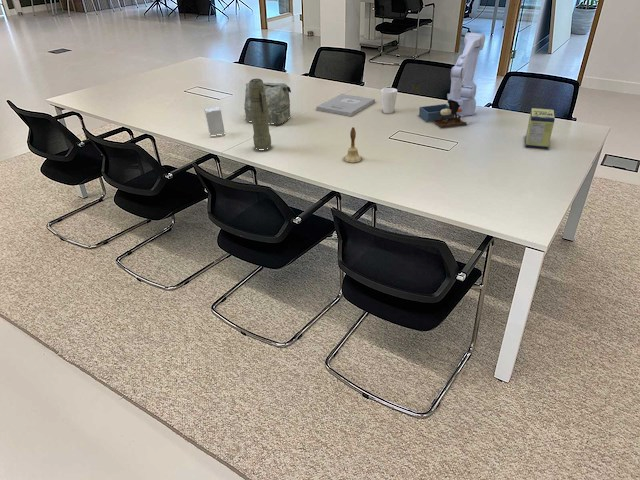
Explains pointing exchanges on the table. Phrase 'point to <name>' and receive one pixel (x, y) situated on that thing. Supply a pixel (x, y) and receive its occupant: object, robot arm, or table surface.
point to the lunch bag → (272, 102)
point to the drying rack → (449, 122)
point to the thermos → (259, 115)
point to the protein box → (540, 128)
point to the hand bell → (352, 149)
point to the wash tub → (433, 112)
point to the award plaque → (345, 104)
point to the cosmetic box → (214, 121)
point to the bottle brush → (448, 111)
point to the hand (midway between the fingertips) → (453, 113)
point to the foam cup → (388, 99)
